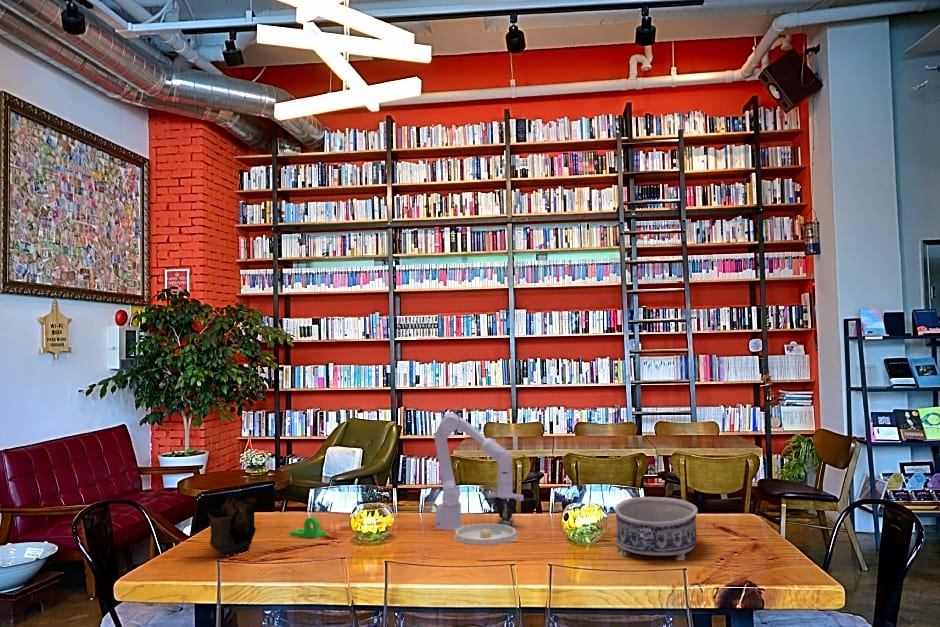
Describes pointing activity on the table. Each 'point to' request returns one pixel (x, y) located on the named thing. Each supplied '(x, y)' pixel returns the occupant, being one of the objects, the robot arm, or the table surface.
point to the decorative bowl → (656, 526)
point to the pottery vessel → (233, 525)
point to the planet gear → (505, 519)
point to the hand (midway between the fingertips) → (505, 517)
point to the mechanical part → (309, 529)
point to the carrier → (485, 534)
